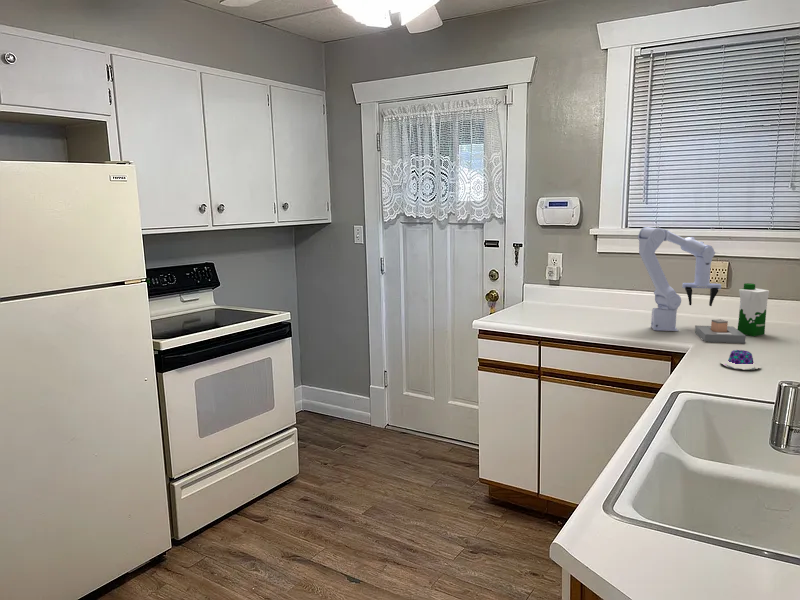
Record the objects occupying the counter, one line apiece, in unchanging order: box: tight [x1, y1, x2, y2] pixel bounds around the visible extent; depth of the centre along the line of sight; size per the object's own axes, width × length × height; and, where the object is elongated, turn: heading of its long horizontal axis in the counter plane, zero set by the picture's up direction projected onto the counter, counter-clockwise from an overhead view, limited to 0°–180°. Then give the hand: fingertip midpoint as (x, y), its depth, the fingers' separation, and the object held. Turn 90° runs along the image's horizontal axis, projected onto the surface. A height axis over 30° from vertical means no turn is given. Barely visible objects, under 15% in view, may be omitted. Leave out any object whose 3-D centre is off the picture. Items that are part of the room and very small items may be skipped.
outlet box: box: [694, 325, 747, 344], centre depth 238 cm, size 14×16×3 cm
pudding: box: [727, 349, 755, 364], centre depth 200 cm, size 12×12×5 cm
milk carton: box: [736, 282, 770, 337], centre depth 242 cm, size 9×9×20 cm
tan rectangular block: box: [710, 318, 729, 332], centre depth 238 cm, size 4×4×7 cm
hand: (700, 305), depth 256 cm, fingers open, 7 cm apart
